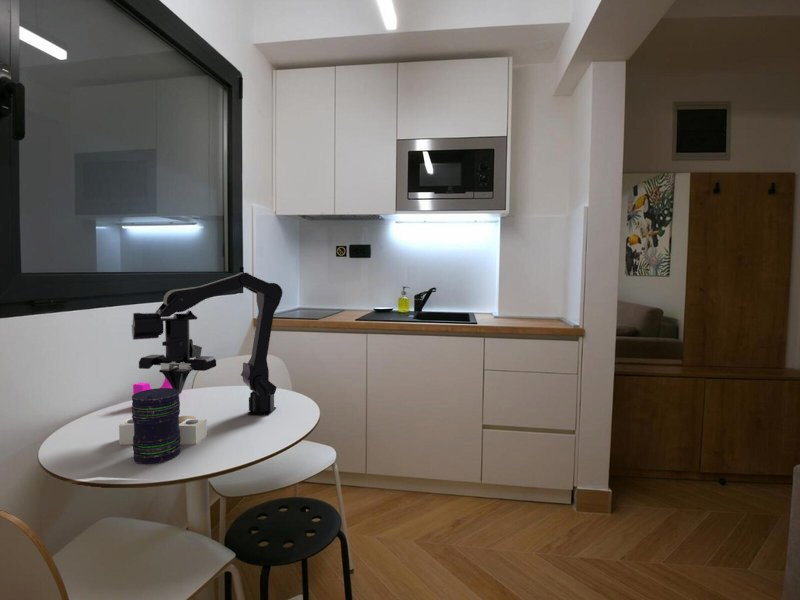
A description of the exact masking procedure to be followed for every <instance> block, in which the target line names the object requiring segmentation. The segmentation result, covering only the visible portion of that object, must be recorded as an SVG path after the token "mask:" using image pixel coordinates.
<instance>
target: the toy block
mask: <svg viewBox="0 0 800 600" xmlns="http://www.w3.org/2000/svg"><path fill="white" fill-rule="evenodd" d="M164 377H165V376H164ZM160 388H172V386H171V385H170V383H169V381H168V380H167V378H166V377H165V378H164V381H163V383H162V384H161V386H160ZM150 389H152V387H151V385H150V382H140V381H139V382H137V383H133V384H132V391H133V392H132V395H134V394H135V393H138V392H141V391H145V390H150Z"/></svg>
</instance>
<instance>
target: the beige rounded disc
mask: <svg viewBox="0 0 800 600" xmlns="http://www.w3.org/2000/svg"><path fill="white" fill-rule="evenodd" d="M187 419H197V418H196V416H194V415H182V416H181V415H180V416H179V424H180V423H182V422H184V421H185V420H187Z"/></svg>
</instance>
